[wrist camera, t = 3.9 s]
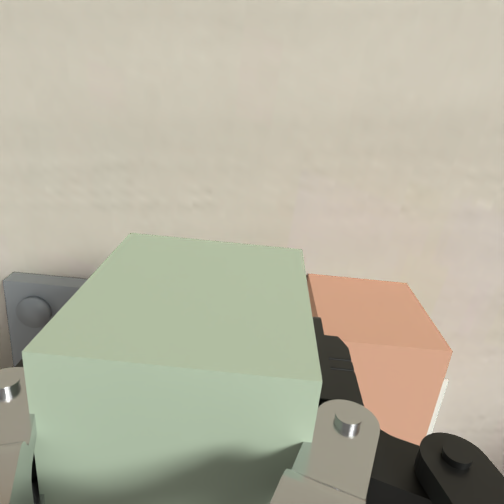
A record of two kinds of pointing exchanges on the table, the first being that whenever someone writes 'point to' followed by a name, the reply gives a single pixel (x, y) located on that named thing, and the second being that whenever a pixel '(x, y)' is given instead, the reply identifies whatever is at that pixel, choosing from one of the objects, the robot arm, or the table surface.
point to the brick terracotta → (386, 348)
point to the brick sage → (176, 376)
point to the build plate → (34, 304)
